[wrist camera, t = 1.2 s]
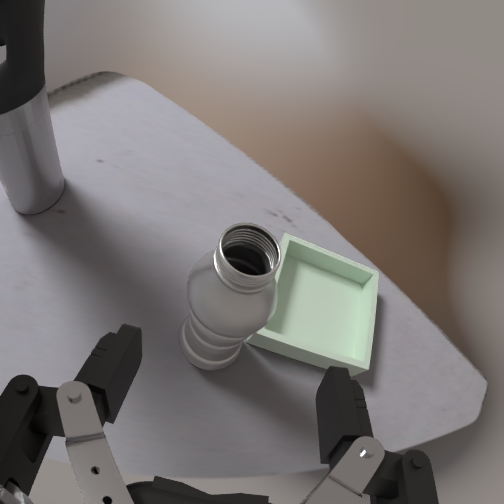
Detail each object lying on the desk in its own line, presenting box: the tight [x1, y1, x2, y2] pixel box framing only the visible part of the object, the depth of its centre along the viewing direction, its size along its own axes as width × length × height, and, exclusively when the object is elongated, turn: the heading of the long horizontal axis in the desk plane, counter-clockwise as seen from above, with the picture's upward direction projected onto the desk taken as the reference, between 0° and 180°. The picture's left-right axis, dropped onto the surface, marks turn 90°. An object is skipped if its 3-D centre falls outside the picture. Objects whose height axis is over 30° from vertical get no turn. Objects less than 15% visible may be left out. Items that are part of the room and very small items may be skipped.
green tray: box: [247, 233, 379, 377], centre depth 38 cm, size 14×14×4 cm
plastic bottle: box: [179, 223, 281, 370], centre depth 26 cm, size 6×7×20 cm
